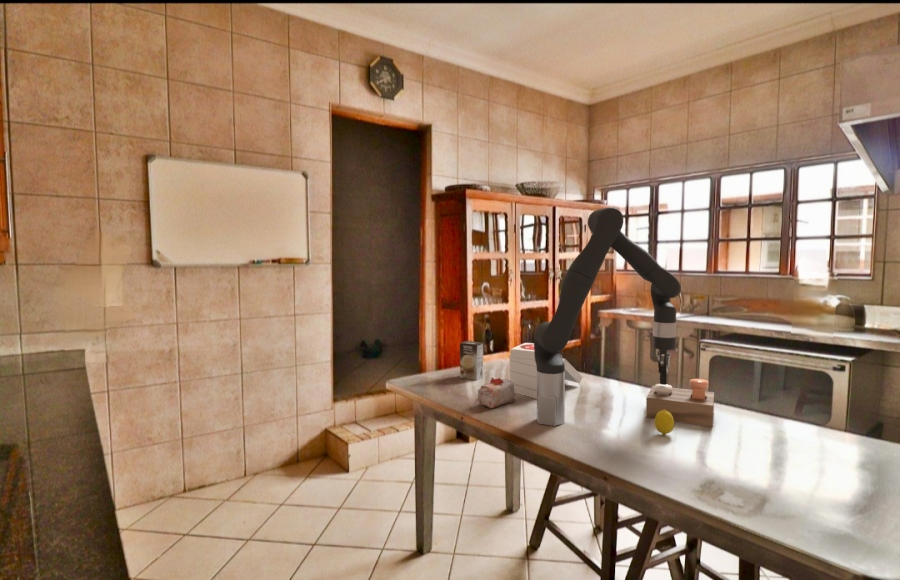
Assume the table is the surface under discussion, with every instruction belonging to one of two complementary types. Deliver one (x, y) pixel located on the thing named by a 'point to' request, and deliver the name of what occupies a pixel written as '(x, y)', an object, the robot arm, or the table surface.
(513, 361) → the pizza boxes
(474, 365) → the coffee box
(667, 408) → the walnut block
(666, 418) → the lemon
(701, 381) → the terracotta plunger
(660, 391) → the white rounded piece
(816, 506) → the table surface
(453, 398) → the table surface
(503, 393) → the food item
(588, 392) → the table surface
